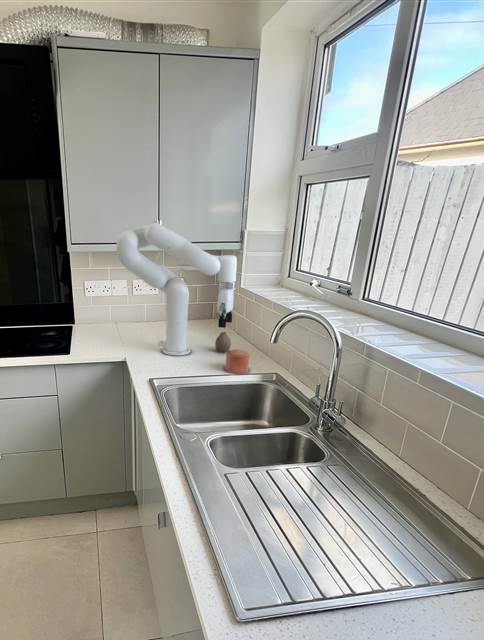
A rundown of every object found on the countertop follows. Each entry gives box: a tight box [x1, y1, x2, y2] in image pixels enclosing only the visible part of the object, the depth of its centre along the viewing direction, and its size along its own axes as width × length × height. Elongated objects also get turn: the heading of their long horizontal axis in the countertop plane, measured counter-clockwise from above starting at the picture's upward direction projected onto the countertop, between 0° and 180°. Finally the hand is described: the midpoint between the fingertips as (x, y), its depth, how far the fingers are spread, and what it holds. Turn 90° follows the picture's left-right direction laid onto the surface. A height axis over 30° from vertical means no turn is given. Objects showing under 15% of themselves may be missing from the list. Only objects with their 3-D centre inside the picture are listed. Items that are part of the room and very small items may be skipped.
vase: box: [214, 331, 232, 354], centre depth 183 cm, size 7×7×9 cm
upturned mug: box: [224, 349, 250, 375], centre depth 162 cm, size 12×9×7 cm
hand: (225, 324), depth 180 cm, fingers open, 9 cm apart
